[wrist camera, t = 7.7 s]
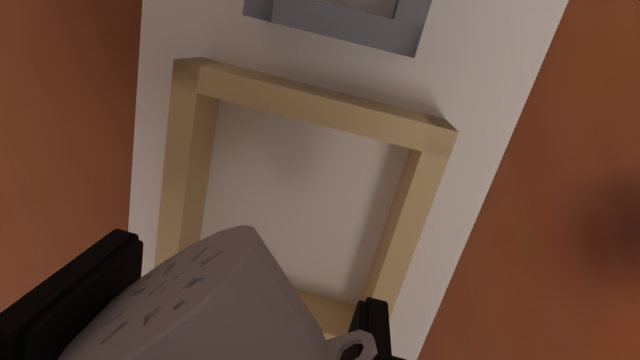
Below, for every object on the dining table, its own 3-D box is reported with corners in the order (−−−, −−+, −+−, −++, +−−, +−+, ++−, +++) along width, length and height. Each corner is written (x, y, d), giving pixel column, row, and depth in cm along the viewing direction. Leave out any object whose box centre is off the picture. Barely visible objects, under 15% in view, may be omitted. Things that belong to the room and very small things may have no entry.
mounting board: (640, -202, 13) (736, -290, 9) (413, 348, 21) (421, 405, 18) (177, -306, 13) (114, -422, 10) (135, 271, 22) (93, 312, 18)
